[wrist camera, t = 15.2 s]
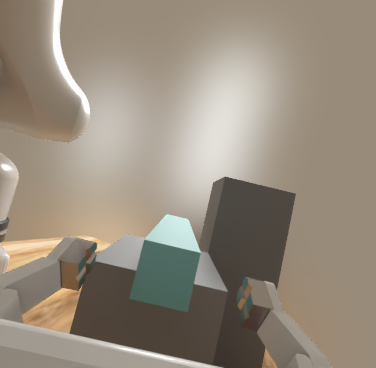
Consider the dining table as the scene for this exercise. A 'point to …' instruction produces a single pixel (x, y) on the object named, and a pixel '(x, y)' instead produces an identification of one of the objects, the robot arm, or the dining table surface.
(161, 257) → the bar
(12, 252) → the dining table surface
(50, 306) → the dining table surface
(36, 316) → the dining table surface
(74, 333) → the tall grey pillar
